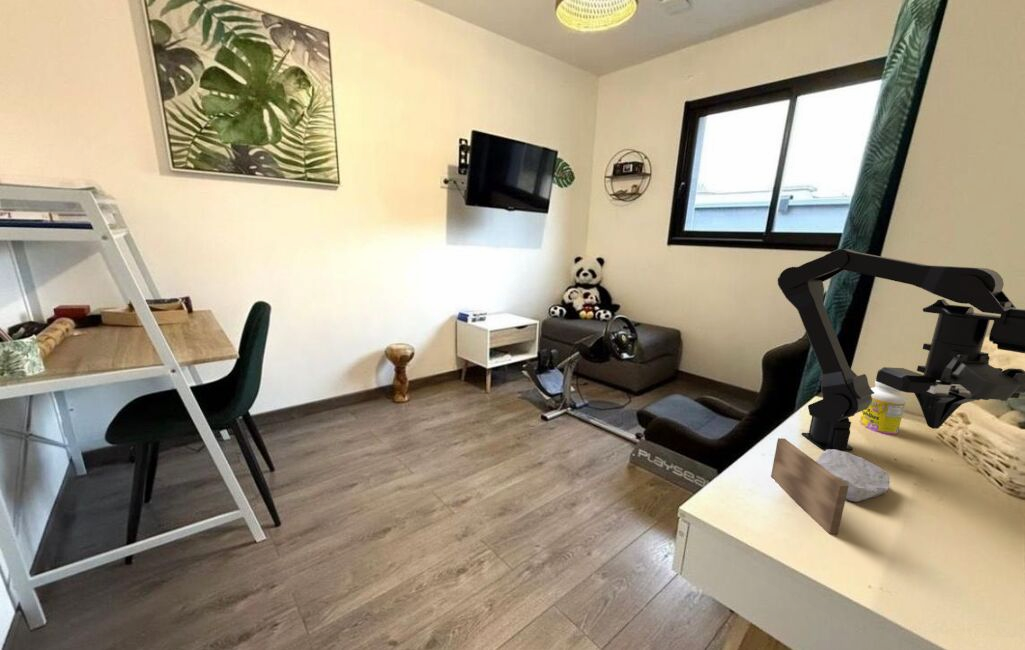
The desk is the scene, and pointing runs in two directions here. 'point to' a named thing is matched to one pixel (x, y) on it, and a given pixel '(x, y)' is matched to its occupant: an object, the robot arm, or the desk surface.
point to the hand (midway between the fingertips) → (932, 427)
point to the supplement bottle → (884, 410)
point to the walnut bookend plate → (810, 485)
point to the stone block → (855, 474)
